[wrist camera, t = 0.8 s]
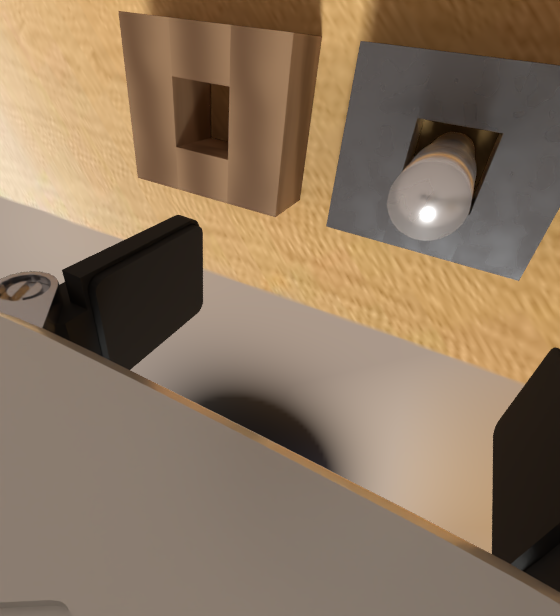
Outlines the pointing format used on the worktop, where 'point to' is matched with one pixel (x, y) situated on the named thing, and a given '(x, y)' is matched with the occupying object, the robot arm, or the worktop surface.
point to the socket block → (464, 112)
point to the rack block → (242, 107)
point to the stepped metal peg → (435, 189)
